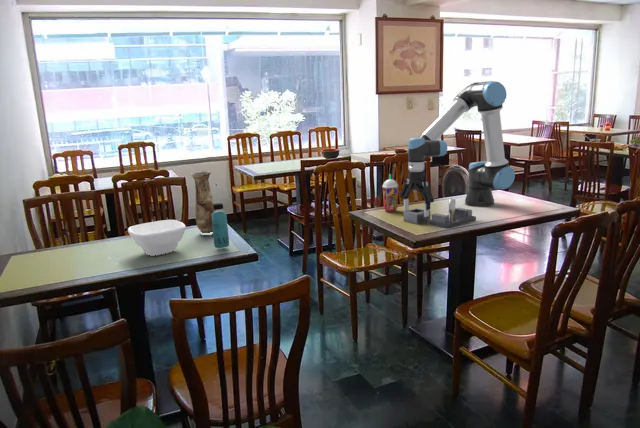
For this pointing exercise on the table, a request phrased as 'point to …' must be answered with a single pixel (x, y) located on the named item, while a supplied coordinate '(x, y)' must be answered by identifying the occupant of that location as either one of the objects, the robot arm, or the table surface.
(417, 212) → the grey square socket block
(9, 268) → the table surface
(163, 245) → the bowl
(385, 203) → the smoothie
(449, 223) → the shaft stand
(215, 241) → the beverage bottle
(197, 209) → the vase
